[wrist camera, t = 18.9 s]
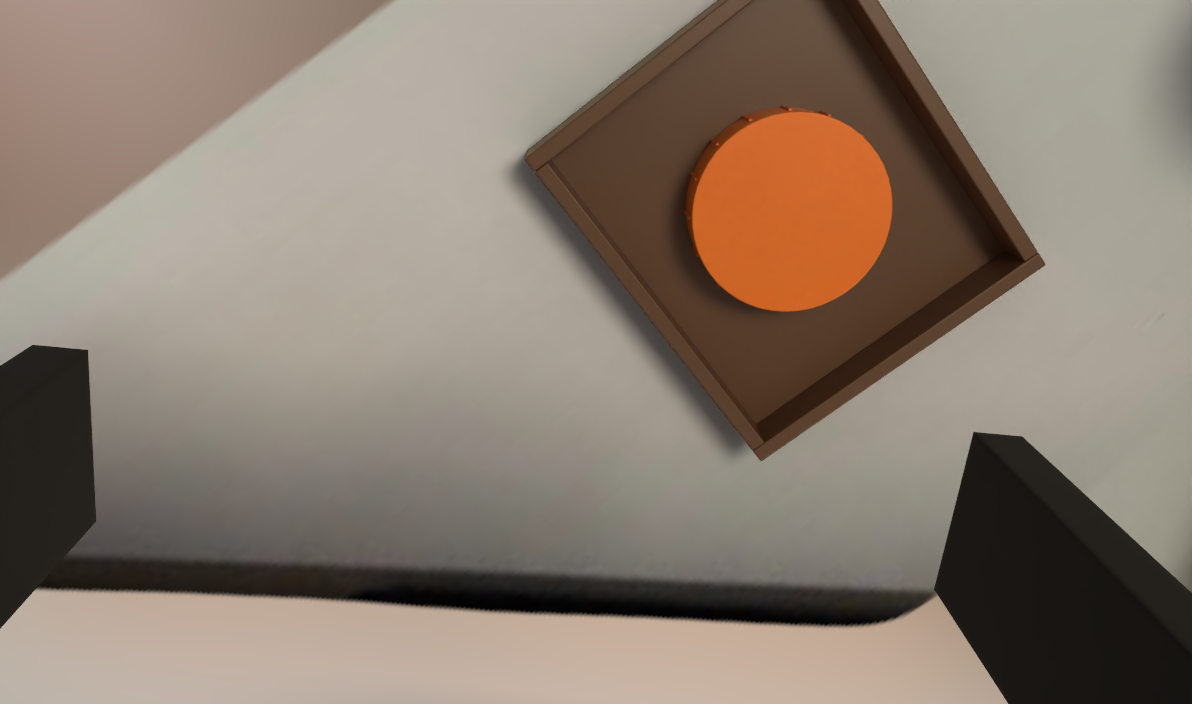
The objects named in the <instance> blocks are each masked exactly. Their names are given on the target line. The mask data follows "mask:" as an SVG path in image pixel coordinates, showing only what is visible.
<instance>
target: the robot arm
mask: <svg viewBox="0 0 1192 704" xmlns="http://www.w3.org/2000/svg"><path fill="white" fill-rule="evenodd" d="M95 522H96V510H95V489H94V468H93V447H92V426H91V406H90V385H89V364H88V350H81V349H70V348H60V347H49V346H38V345H32V346H30V347H29V348H27V349H26V350H24V351H23V352H21V353H19V354H18V355H16V356H15V357H13V358H12V359H10V360H9V361H7V362H6V363H4V364H2V365H1V366H0V628H1V627H2V626H3V625H4V624H5V623H6V621H7V620H8V619H9V618H10V617H11V616H12V615H13V614H14V613H15V611H16V610H17V609H18V608H19V607H20V606H21V605H22V603H23V602H24V601H25V600H26V599H27V598H28V597H29V596H30V595H31V594H32V592H33V591H34V590H35V589H36V588H37V587H38V586H39V585H40V583H41V582H42V581H43V580H44V579H45V578H46V577H47V576H48V575H49V573H50V572H51V571H52V570H53V569H54V568H55V567H56V566H57V564H58V563H59V562H60V561H61V560H62V559H63V558H64V557H65V556H66V554H67V553H68V552H69V551H70V550H71V549H72V548H73V547H74V545H75V544H76V543H77V542H78V541H79V540H80V539H81V538H82V537H83V535H84V534H85V533H86V532H87V531H88V530H89V529H90V528H91V526H92V525H93V524H94V523H95ZM934 590H935V591H936V593H937V594H938V596H939V597H940V599H941V600H942V602H943V603H944V605H945V606H946V608H947V610H948V611H949V613H950V614H951V616H952V617H953V619H954V620H955V622H956V623H957V625H958V627H959V628H960V630H961V631H962V633H963V634H964V636H965V637H966V639H967V640H968V642H969V644H970V645H971V647H972V648H973V650H974V651H975V652H976V654H977V656H978V657H979V659H980V660H981V662H982V663H983V665H984V667H985V668H986V670H987V671H988V673H989V674H990V676H991V678H992V679H993V681H994V682H995V684H996V685H997V687H998V688H999V690H1000V691H1001V693H1002V694H1003V696H1004V698H1005V699H1006V701H1007V702H1008V704H1192V593H1191V592H1190V591H1189V590H1188V589H1187V588H1185V587H1184V586H1183V585H1182V584H1181V583H1180V582H1179V581H1178V580H1177V579H1176V578H1175V577H1174V576H1173V575H1171V574H1170V573H1169V572H1168V571H1167V570H1166V569H1165V568H1164V567H1163V566H1162V565H1161V564H1160V563H1158V562H1157V561H1156V560H1155V559H1154V558H1153V557H1152V556H1151V555H1150V554H1149V553H1148V552H1147V551H1145V550H1144V549H1143V548H1142V547H1141V546H1140V545H1139V544H1138V543H1137V542H1136V541H1135V540H1134V539H1132V538H1131V537H1130V536H1129V535H1128V534H1127V533H1126V532H1125V531H1124V530H1123V529H1122V528H1121V527H1119V526H1118V525H1117V524H1116V523H1115V522H1114V521H1113V520H1112V519H1111V518H1110V517H1109V516H1108V515H1106V514H1105V513H1104V512H1103V511H1102V510H1101V509H1100V508H1099V507H1098V506H1097V505H1096V504H1095V503H1093V502H1092V501H1091V500H1090V499H1089V498H1088V497H1087V496H1086V495H1085V494H1084V493H1083V492H1082V491H1080V490H1079V489H1078V488H1077V487H1076V486H1075V485H1074V484H1073V483H1072V482H1071V481H1070V480H1069V479H1067V478H1066V477H1065V476H1064V475H1063V474H1062V473H1061V472H1060V471H1059V470H1058V469H1057V468H1056V467H1054V466H1053V465H1052V464H1051V463H1050V462H1049V461H1048V460H1047V459H1046V458H1045V457H1044V456H1043V455H1041V454H1040V453H1039V452H1038V451H1037V450H1036V449H1035V448H1034V447H1033V446H1032V445H1031V444H1030V443H1028V442H1027V441H1026V440H1025V439H1024V438H1023V437H1021V436H1010V435H999V434H988V433H977V432H974V433H973V437H972V441H971V445H970V449H969V453H968V457H967V461H966V465H965V469H964V473H963V477H962V481H961V485H960V489H959V493H958V497H957V501H956V505H955V509H954V513H953V517H952V521H951V525H950V529H949V533H948V537H947V541H946V545H945V549H944V553H943V556H942V560H941V564H940V568H939V572H938V576H937V580H936V584H935V588H934Z"/></svg>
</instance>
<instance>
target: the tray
mask: <svg viewBox="0 0 1192 704" xmlns="http://www.w3.org/2000/svg"><path fill="white" fill-rule="evenodd" d="M781 105H784V106H787V107H793V108H803V109H807V110H812V111H815V112H818V113H819V111H822V112H825V113H828V114H831V117H832V118H834V119H837V120H839V121H841V122H843V123H845V124H847V125H849V126H850V127H852V128H853V129H854V130H856V131H857V132H858V133H860V134H862V135H863V136H864V138H865V139H866V140H867V141H868V142H869V143H870V144H871V146H872V147H873V148H874V150H875V151H876V152H877V154H878V155H879V157H880V159H881V161H882V163H883V164H884V167H885V169H886V172H887V175H888V178H889V182H890V186H891V192H892V218H891V224H890V229H889V233H888V236H887V239H886V242H885V244H884V247H883V249H882V251H881V253H880V255H879V257H878V258H877V260H876V262H875V263H874V265H873V266H872V267H871V269H870V270H869V271H868V272H867V274H866V275H865V276H864V277H863V278H862V279H861V280H860V281H859V282H858V283H857V284H856V285H855V286H854V287H852V288H851V289H850V290H848V291H847V292H846V293H844V294H843V295H841V296H839V297H838V298H836V299H834V300H832V301H830V302H828V303H826V304H823V305H821V306H817V307H814V308H811V309H806V310H801V311H790V312H781V311H770V310H765V309H761V308H757V307H754V306H752V305H749V304H747V303H745V302H743V301H741V300H739V299H737V298H735V297H734V296H732V295H731V294H729V293H728V292H727V291H725V290H724V289H723V288H722V287H721V286H720V287H719V286H718V285H717V283H716V281H715V280H714V279H713V277H712V276H711V275H710V274H709V272H708V271H707V269H706V267H705V266H704V264H703V263H702V261H701V259H700V257H699V256H698V257H697V256H696V254H695V252H694V250H693V249H692V246H693V243H692V241H691V238H690V234H689V231H688V226H687V220H686V215H685V213H684V210H686V198H687V190H688V186H689V182H690V179H691V175H690V173H691V172H693V171H694V168H695V166H696V164H697V162H698V160H699V159H700V157H701V155H702V154H703V152H704V151H705V150H706V148H707V147H708V145H709V144H710V143H711V142H712V141H711V139H712V138H713V139H715V138H716V137H717V136H718V135H719V134H720V133H721V132H722V131H724V130H725V129H726V128H727V127H728V126H730V125H732V124H733V123H735V122H736V121H738V120H740V119H742V118H743V115H747V116H748V115H750V114H753V113H756V112H759V111H762V110H767V109H772V108H781ZM525 160H526V162H527V163H528V164H529V166H530V167H531V168H532V169H533V171H536V172H535V173H536V175H537V176H538V177H539V178H540V180H541V181H542V182H543V184H544V185H545V186H546V187H547V189H548V190H549V191H550V192H551V194H552V195H553V196H554V198H555V199H556V200H557V201H558V203H559V204H560V205H561V207H562V208H563V209H564V210H565V212H566V213H567V214H568V215H569V217H570V218H571V219H572V221H573V222H574V223H575V224H576V226H577V227H578V228H579V230H580V231H581V232H582V233H583V235H584V236H585V237H586V238H587V240H588V241H589V242H590V244H591V245H592V246H593V247H594V249H595V250H596V251H597V253H598V254H599V255H600V256H601V258H602V259H603V260H604V261H605V263H606V264H607V265H608V267H609V268H610V269H611V270H612V272H613V273H614V274H615V276H616V277H617V278H618V279H619V281H620V282H621V283H622V284H623V286H624V287H625V288H626V290H627V291H628V292H629V293H630V295H631V296H632V297H633V299H634V300H635V301H636V302H637V304H638V305H639V306H640V307H641V309H642V310H643V311H644V313H645V314H646V315H647V316H648V318H649V319H650V320H651V322H652V323H653V324H654V325H655V327H656V328H657V329H658V330H659V332H660V333H661V334H662V336H663V337H664V338H665V339H666V341H667V342H668V343H669V345H670V346H671V347H672V348H673V350H674V351H675V352H676V353H677V355H678V356H679V357H680V359H681V360H682V361H683V362H684V364H685V365H686V366H687V368H688V369H689V370H690V371H691V373H692V374H693V375H694V377H695V378H696V379H697V380H698V382H699V383H700V384H701V385H702V387H703V388H704V389H705V391H706V392H707V393H708V394H709V396H710V397H711V398H712V400H713V401H714V402H715V403H716V405H717V406H718V407H719V408H720V410H721V411H722V412H723V414H724V415H725V416H726V417H727V419H728V420H729V421H730V423H731V424H732V425H733V426H734V428H735V429H736V430H737V431H738V433H739V434H740V435H741V437H742V438H743V439H744V440H745V442H746V443H747V444H748V446H749V447H750V448H751V449H752V450H753V452H754V453H755V454H756V456H757V457H758V458H759V460H761V461H762V460H764V459H765V458H767V457H768V456H770V455H771V454H772V453H774V452H775V451H777V450H778V449H780V448H781V447H783V446H784V445H786V444H787V443H788V442H790V441H791V440H793V439H794V438H796V437H797V436H799V435H800V434H801V433H803V432H804V431H806V430H807V429H809V428H810V427H812V426H813V425H814V424H816V423H817V422H819V421H820V420H822V419H823V418H825V417H826V416H827V415H829V414H830V413H832V412H833V411H835V410H836V409H838V408H839V407H841V406H842V405H843V404H845V403H846V402H848V401H849V400H851V399H852V398H854V397H855V396H856V395H858V394H859V393H861V392H862V391H864V390H865V389H867V388H868V387H869V386H871V385H872V384H874V383H875V382H877V381H878V380H880V379H881V378H882V377H884V376H885V375H887V374H888V373H890V372H891V371H893V370H894V369H896V368H897V367H898V366H900V365H901V364H903V363H904V362H906V361H907V360H909V359H910V358H911V357H913V356H914V355H916V354H917V353H919V352H920V351H922V350H923V349H924V348H926V347H927V346H929V345H930V344H932V343H933V342H935V341H936V340H937V339H939V338H940V337H942V336H943V335H945V334H946V333H948V332H949V331H951V330H952V329H953V328H955V327H956V326H958V325H959V324H961V323H962V322H964V321H965V320H966V319H968V318H969V317H971V316H972V315H974V314H975V313H977V312H978V311H979V310H981V309H982V308H984V307H985V306H987V305H988V304H990V303H991V302H993V301H994V300H995V299H997V298H998V297H1000V296H1001V295H1003V294H1004V293H1006V292H1007V291H1008V290H1010V289H1011V288H1013V287H1014V286H1016V285H1017V284H1019V283H1020V282H1021V281H1023V280H1024V279H1026V278H1027V277H1029V276H1030V275H1032V274H1033V273H1034V272H1036V271H1037V270H1039V269H1040V268H1042V267H1043V266H1045V263H1044V261H1043V259H1042V258H1041V256H1040V255H1039V254H1038V253H1037V250H1036V248H1035V247H1034V245H1033V244H1032V242H1031V240H1030V239H1029V237H1028V236H1027V234H1026V233H1025V231H1024V229H1023V228H1022V226H1021V225H1020V223H1019V222H1018V220H1017V218H1016V217H1015V215H1014V214H1013V212H1012V211H1011V209H1010V207H1009V206H1008V204H1007V203H1006V201H1005V200H1004V198H1003V196H1002V195H1001V193H1000V192H999V190H998V189H997V187H996V185H995V184H994V182H993V181H992V179H991V178H990V176H989V174H988V173H987V171H986V170H985V168H984V167H983V165H982V163H981V162H980V160H979V159H978V157H977V155H976V154H975V152H974V151H973V149H972V148H971V146H970V144H969V143H968V141H967V140H966V138H965V137H964V135H963V133H962V132H961V130H960V129H959V127H958V126H957V124H956V122H955V121H954V119H953V118H952V116H951V115H950V113H949V111H948V110H947V108H946V107H945V105H944V104H943V102H942V100H941V99H940V97H939V96H938V94H937V93H936V91H935V89H934V88H933V86H932V85H931V83H930V82H929V80H928V78H927V77H926V75H925V74H924V72H923V71H922V69H921V67H920V66H919V64H918V63H917V61H916V59H915V58H914V56H913V55H912V53H911V52H910V50H909V48H908V47H907V45H906V44H905V42H904V41H903V39H902V37H901V36H900V34H899V33H898V31H897V30H896V28H895V26H894V25H893V23H892V22H891V20H890V19H889V17H888V15H887V14H886V12H885V11H884V9H883V8H882V6H881V4H880V3H879V1H878V0H717V1H716V2H715V3H713V4H712V5H711V6H710V7H708V8H707V9H706V10H705V11H703V12H702V13H701V14H699V15H698V16H697V17H696V18H694V19H693V20H692V21H691V22H689V23H688V24H687V25H686V26H684V27H683V28H682V29H680V30H679V31H678V32H677V33H675V34H674V35H673V36H672V37H670V38H669V39H668V40H667V41H665V42H664V43H663V44H661V45H660V46H659V47H658V48H656V49H655V50H654V51H653V52H651V53H650V54H649V55H648V56H646V57H645V58H644V59H642V60H641V61H640V62H639V63H637V64H636V65H635V66H634V67H632V68H631V69H630V70H629V71H627V72H626V73H625V74H623V75H622V76H621V77H620V78H618V79H617V80H616V81H615V82H613V83H612V84H611V85H610V86H608V87H607V88H606V89H604V90H603V91H602V92H601V93H599V94H598V95H597V96H596V97H594V98H593V99H592V100H591V101H589V102H588V103H587V104H585V105H584V106H583V107H582V108H580V109H579V110H578V111H577V112H575V113H574V114H573V115H571V116H570V117H569V118H568V119H566V120H565V121H564V122H563V123H561V124H560V125H559V126H558V127H556V128H555V129H554V130H552V131H551V132H550V133H549V134H547V135H546V136H545V137H544V138H542V139H541V140H540V141H539V142H537V143H536V144H535V145H533V146H532V147H531V148H530V149H528V151H527V154H526V158H525Z"/></svg>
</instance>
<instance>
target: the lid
mask: <svg viewBox="0 0 1192 704" xmlns="http://www.w3.org/2000/svg"><path fill="white" fill-rule="evenodd" d="M711 141H712V142H711V143H710V144H709V145H708V147H707V148H706V150H705V151H704V152H703V154H702V155H701V157H700V159H699V160H698V162H697V164H696V166H695V168H694V171H693V172H691V173H690V175H691V179H690V182H689V186H688V190H687V198H686V210H684V213H685V215H686V220H687V226H688V231H689V234H690V238H691V241H692V243H693V246H692V249H693V250H694V252H695V254H696V256H697V257H698V256H699V257H700V259H701V261H702V263H703V264H704V266H705V267H706V269H707V271H708V272H709V274H710V275H711V276H712V277H713V279H714V280H715V281H716V283H717V285H718V286H719V287H720V286H721V287H722V288H723V289H724V290H725V291H727V292H728V293H729V294H731V295H732V296H734V297H735V298H737V299H739V300H741V301H743V302H745V303H747V304H749V305H752V306H754V307H757V308H761V309H765V310H770V311H781V312H790V311H801V310H806V309H811V308H814V307H817V306H821V305H823V304H826V303H828V302H830V301H832V300H834V299H836V298H838V297H839V296H841V295H843V294H844V293H846V292H847V291H848V290H850V289H851V288H852V287H854V286H855V285H856V284H857V283H858V282H859V281H860V280H861V279H862V278H863V277H864V276H865V275H866V274H867V272H868V271H869V270H870V269H871V267H872V266H873V265H874V263H875V262H876V260H877V258H878V257H879V255H880V253H881V251H882V249H883V247H884V244H885V242H886V239H887V236H888V233H889V229H890V224H891V218H892V192H891V186H890V182H889V178H888V175H887V172H886V169H885V167H884V164H883V163H882V161H881V159H880V157H879V155H878V154H877V152H876V151H875V150H874V148H873V147H872V146H871V144H870V143H869V142H868V141H867V140H866V139H865V138H864V136H863V135H862V134H860V133H858V132H857V131H856V130H854V129H853V128H852V127H850V126H849V125H847V124H845V123H843V122H841V121H839V120H837V119H834V118H832V117H831V114H828V113H825V112H822V111H819V113H818V112H815V111H812V110H807V109H803V108H793V107H787V106H784V105H781V108H772V109H767V110H762V111H759V112H756V113H753V114H750V115H748V116H747V115H743V118H742V119H740V120H738V121H736V122H735V123H733V124H732V125H730V126H728V127H727V128H726V129H725V130H724V131H722V132H721V133H720V134H719V135H718V136H717V137H716V138H715V139H713V138H712V139H711Z"/></svg>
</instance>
